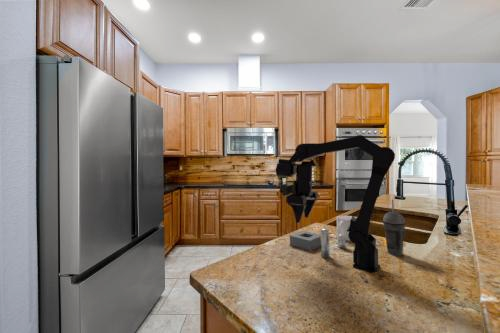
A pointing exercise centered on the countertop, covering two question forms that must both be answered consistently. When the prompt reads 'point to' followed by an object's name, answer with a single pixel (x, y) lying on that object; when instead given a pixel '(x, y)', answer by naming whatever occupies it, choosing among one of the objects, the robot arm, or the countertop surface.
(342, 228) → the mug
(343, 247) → the short pin
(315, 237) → the hole block
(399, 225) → the beverage cup
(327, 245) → the long pin
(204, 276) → the countertop surface
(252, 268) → the countertop surface
